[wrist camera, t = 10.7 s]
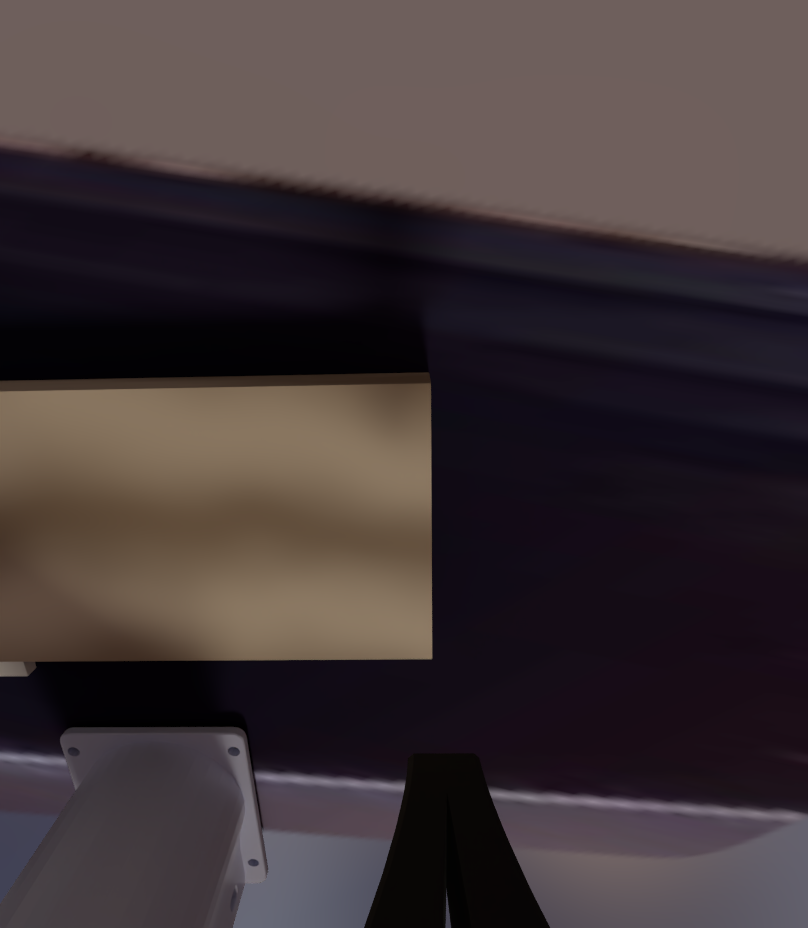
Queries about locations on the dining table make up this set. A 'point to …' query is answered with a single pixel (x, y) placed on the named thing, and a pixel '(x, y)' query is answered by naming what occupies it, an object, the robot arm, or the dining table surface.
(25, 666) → the mat
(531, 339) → the dining table surface
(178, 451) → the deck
